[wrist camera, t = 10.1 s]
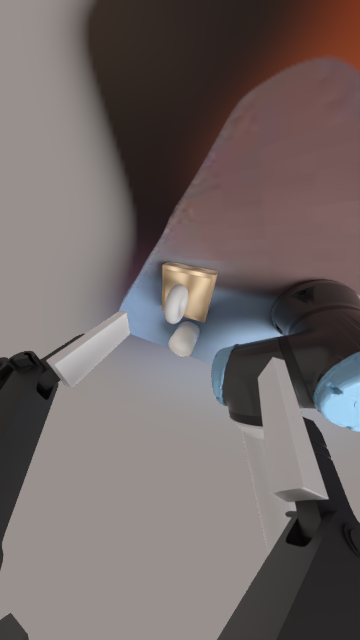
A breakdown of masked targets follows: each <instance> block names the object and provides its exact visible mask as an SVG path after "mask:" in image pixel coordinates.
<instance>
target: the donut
mask: <svg viewBox="0 0 360 640" xmlns="http://www.w3.org/2000/svg"><path fill="white" fill-rule="evenodd" d="M187 303H188V290H187V288H186V286H184V285H182V284H177V285H175V286H173V288H172V289H171V290H170V292H169V294H168V296H167V298H166V302H165V307H164V315H165V318H166V320H167V321H168V322H169V323H171V324H175V323H178V322H179V321H180V320H181V319H182V317H183V315H184V313H185V310H186V307H187Z"/></svg>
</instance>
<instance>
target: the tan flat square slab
mask: <svg viewBox="0 0 360 640" xmlns="http://www.w3.org/2000/svg"><path fill="white" fill-rule="evenodd" d="M217 275H218V271H214V270H209V269H204V268H199V267H194V266H188V265H183V264H178V263H173V262H167V263H165V264H163V266H162V311H164V307H165V302H166V298H167V296H168V294H169V292H170V290H171V289H172V288H173V286H175V285H177V284H182V285H184V286H186V288H187V290H188V303H187V307H186V310H185V313H184V315H183V317H186V318H190V319H193V320H196V321H200V322H203V323H205V320H206V317H207V314H208V310H209V306H210V303H211V299H212V295H213V291H214V287H215V283H216V279H217Z"/></svg>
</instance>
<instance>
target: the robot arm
mask: <svg viewBox="0 0 360 640" xmlns="http://www.w3.org/2000/svg"><path fill="white" fill-rule="evenodd" d="M271 317H272V321H273V324H274V326H275V328H276V329H277V331H278V332H279V333H281V334H282V335H283V336H280V337H275V338H270V339H265V340H260V341H255V342H250V343H245V344H241V345H239V344H235V345H233V346H231V347H227V348H223V349H221V350H219V351H218V352H217V354H216V355H215V358H214V360H213V364H212V373H211V374H212V375H211V377H212V387H213V391H214V394H215V396H216V399H217V400H218V402H219V403H220V404H223V405H224V406H228V409H229V414H230V419H231V420H232V421H233V422H234V423H235V424H236V425H237V426H238V427H239V428H240V429H241V432H242V436H243V441H244V445H245V450H246V455H247V460H248V464H249V469H250V474H251V478H252V483H253V488H254V492H255V497H256V502H257V506H258V511H259V516H260V520H261V525H262V529H263V534H264V539H265V544H266V548H267V553H268V557H267V558H266V560H265V562H264V563H263V565H262V567H261V569H260V570H259V572H258V573H257V575H256V577H255V578H254V580H253V581H252V583H251V585H250V586H249V588H248V590H247V591H246V593H245V595H244V596H243V598H242V600H241V601H240V603H239V605H238V606H237V608H236V609H235V611H234V613H233V614H232V616H231V618H230V619H229V621H228V623H227V624H226V626H225V628H224V629H223V631H222V633H221V634H220V636H219V637H218V639H217V640H360V523H359V522H358V521H357V519H356V517H355V515H354V514H353V511H352V509H351V507H350V505H349V502H348V500H347V497H346V495H345V492H344V489H343V487H342V484H341V482H340V479H339V477H338V474H337V471H336V469H335V466H334V464H333V461H332V460H331V456H330V453H329V451H328V449H327V448H326V447H327V446H326V443H325V441H324V438H323V435H322V433H321V432H320V430H319V429H318V427H317V426H316V424H315V423H314V422H313V421H312V420H309V419H306V418H304V417H303V416H302V414H301V411H300V408H314V409H317V410H318V411H319V412H320V413H321V414H322V415H323V416H324V417H325V418H326V419H327V420H329V421H330V422H332V423H334V424H336V425H338V426H341V427H344V426H346V427H347V428H348V429H350V430H354V431H360V296H359V295H358V294H357V293H356V292H355V291H354V290H353V289H351V288H349V287H348V286H346V285H344V284H342V283H339V282H336V281H331V280H315V281H309V282H305V283H302V284H299V285H297V286H294V287H292V288H291V289H289V290H287V291H286V292H285V293H283V294H282V295H281V296H280V297H279V298H278V299H277V301H276V302H275V304H274V305H273V308H272V312H271ZM129 334H130V330H129V324H128V318H127V313H126V312H123V311H119V312H117V313H116V314H114V315H113V316H111V317H110V318H108V319H107V320H105V321H104V322H102V323H101V324H99V325H98V326H97V327H95V328H93V329H92V330H90V331H89V332H87V333H86V334H81V335H79V336H77V337H75V338H73V339H72V340H70V342H67V343H66V344H65V345H62V346H61V347H59V348H58V349H56V350H55V351H53V352H52V353H50V354H49V355H47V356H46V357H44V358H42V359H39V358H38V357H37V356H36V354H35V353H34V352H32V351H24V352H21V353H18V354H16V355H14V356H12V357H11V358H9V359H8V358H5V357H3V358H0V569H1V565H2V561H3V551H2V541H3V537H4V534H5V531H6V529H7V526H8V523H9V520H10V518H11V515H12V512H13V509H14V507H15V504H16V501H17V498H18V496H19V493H20V490H21V487H22V485H23V482H24V479H25V476H26V473H27V471H28V468H29V465H30V463H31V460H32V457H33V454H34V451H35V448H36V446H37V443H38V440H39V438H40V435H41V432H42V429H43V427H44V424H45V421H46V418H47V415H48V413H49V410H50V407H51V405H52V401H53V399H54V396H55V393H56V391H57V388H58V382H59V381H60V380H61V381H62V382H63V383H64V385H66V386H68V387H70V388H73V387H74V386H75V385H76V384H77V383H78V382H79V381H80V380H81V379H82V378H83V377H84V376H86V374H88V373H89V372H90V371H91V370H92V369H93V368H94V367H95V366H96V365H97V364H98V363H99V362H100V361H101V360H103V359H104V358H105V357H106V356H107V355H108V354H109V353H110V352H111V351H112V350H113V349H114V348H115V347H116V346H118V345H119V344H120V343H121V342H122V341H123V340H124V339H125V338H126V337H127V336H128V335H129ZM0 640H29V638H28V634H27V633H26V632H25V631H24V629H23V628H22V627H21V625H20V624H19V623H18V622H17V620H16V619H15V618H14V617H13V615H12V614H11V613H10V614H8V615H7V616H5V617H4V618H2V619H1V620H0Z"/></svg>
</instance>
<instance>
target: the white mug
mask: <svg viewBox="0 0 360 640" xmlns="http://www.w3.org/2000/svg"><path fill="white" fill-rule="evenodd" d="M199 334H200V330H199V328H198V326H197V325H196V324H194V323H193V322H190V321H184V322H182V323H180V325H179V326H178V328H177V329H176V331H175V332H174V334H173V335H172V337H171V338H170V340H169V342H168V345H169V348H170V349H171V351H172V352H173V353H175V354H176V355H178V356H179V357H187V356H190V355H191V354H192V352H193V349H194V347H195V344H196V342H197V339H198V337H199Z"/></svg>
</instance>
